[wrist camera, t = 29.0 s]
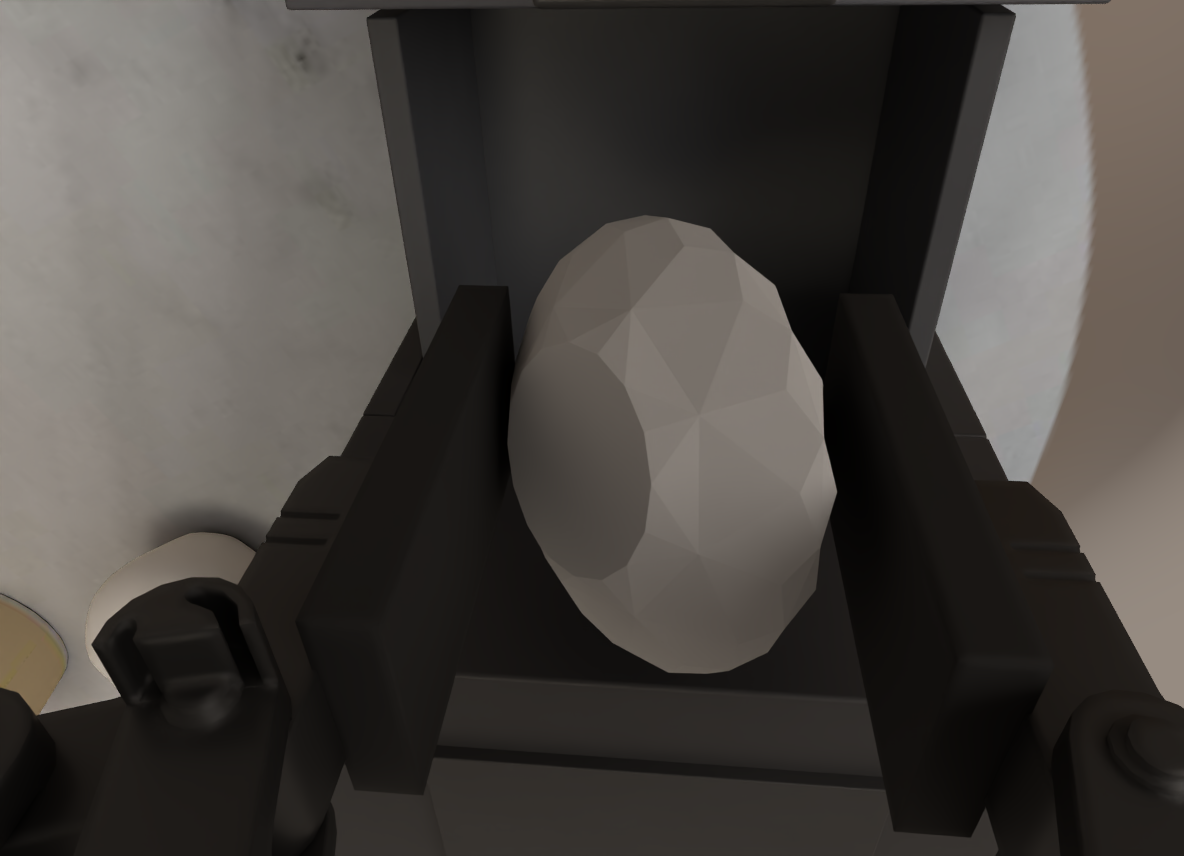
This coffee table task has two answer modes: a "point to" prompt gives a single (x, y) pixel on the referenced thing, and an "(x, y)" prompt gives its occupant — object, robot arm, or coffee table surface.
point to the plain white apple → (165, 575)
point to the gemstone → (671, 445)
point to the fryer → (643, 719)
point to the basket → (689, 139)
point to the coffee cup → (29, 654)
